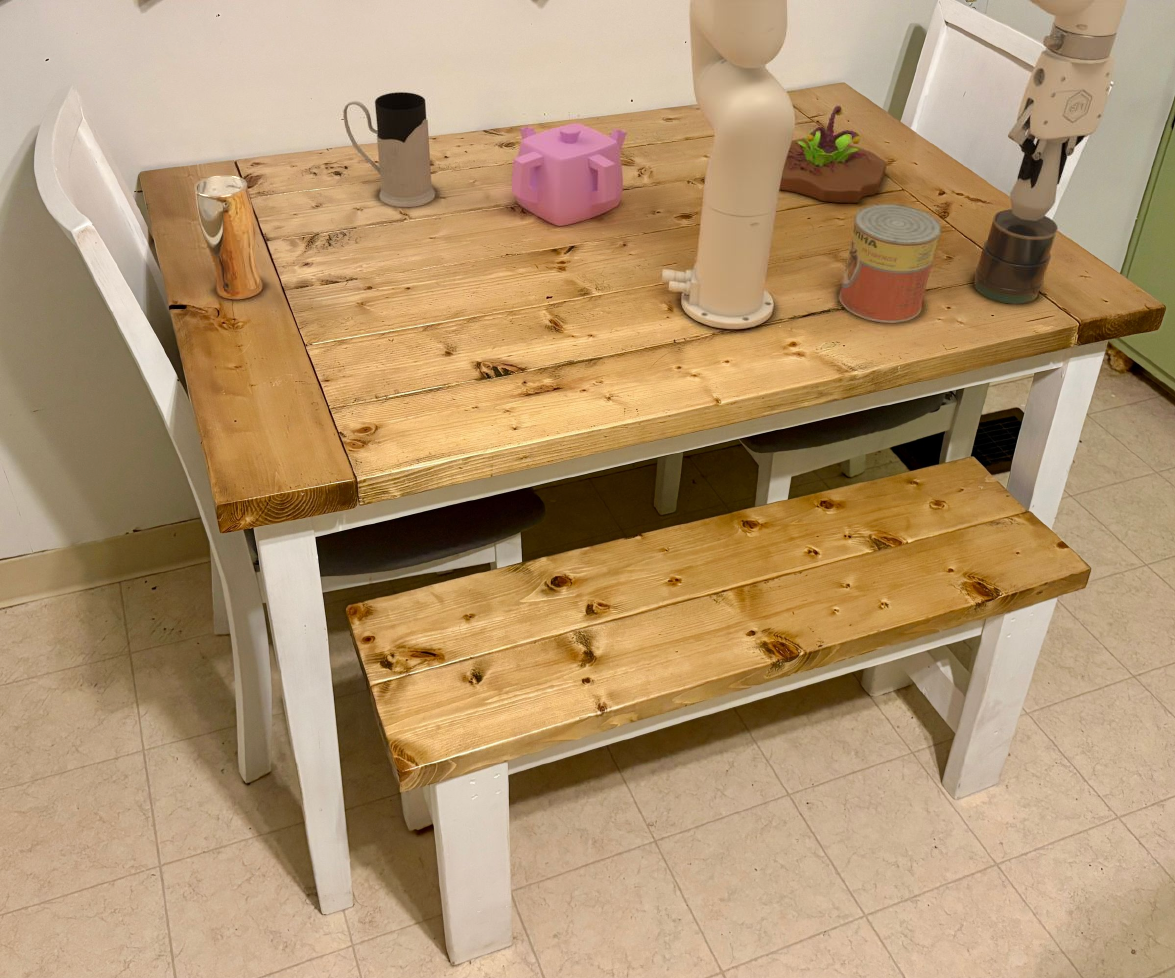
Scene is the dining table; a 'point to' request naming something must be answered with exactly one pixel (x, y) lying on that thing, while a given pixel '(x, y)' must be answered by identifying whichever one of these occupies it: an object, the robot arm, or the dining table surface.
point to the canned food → (889, 262)
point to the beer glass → (229, 234)
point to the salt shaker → (1039, 186)
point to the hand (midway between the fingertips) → (1037, 181)
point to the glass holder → (400, 148)
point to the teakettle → (568, 173)
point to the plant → (831, 166)
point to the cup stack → (1015, 258)
